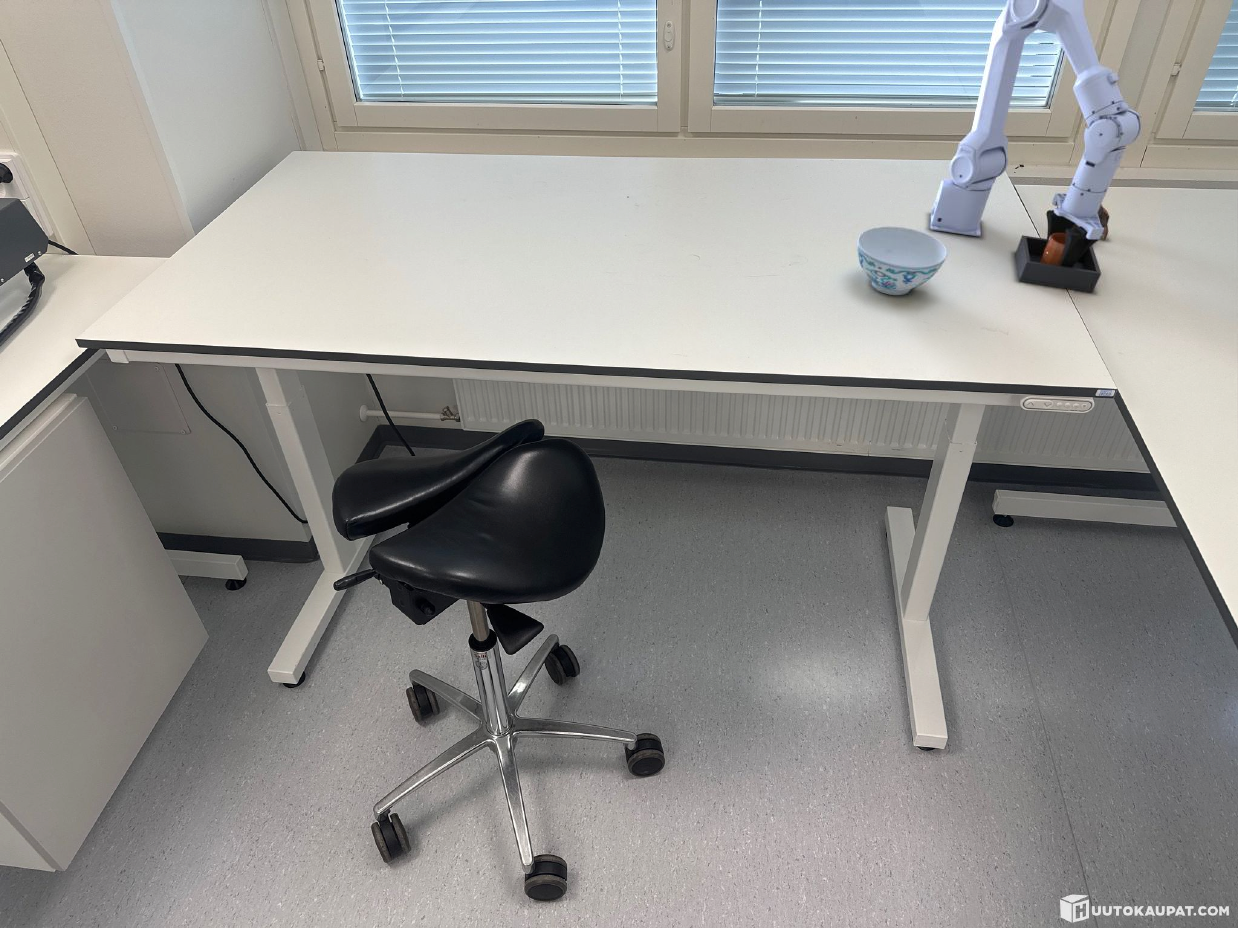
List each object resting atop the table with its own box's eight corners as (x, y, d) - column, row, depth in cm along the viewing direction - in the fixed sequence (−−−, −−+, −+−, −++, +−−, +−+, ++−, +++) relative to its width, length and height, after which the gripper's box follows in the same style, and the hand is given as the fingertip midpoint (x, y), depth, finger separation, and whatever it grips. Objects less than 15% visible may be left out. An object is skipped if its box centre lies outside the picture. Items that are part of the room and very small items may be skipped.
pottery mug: (1115, 249, 157) (1115, 218, 151) (1061, 263, 161) (1059, 233, 155) (1099, 209, 164) (1099, 177, 158) (1048, 223, 168) (1046, 193, 162)
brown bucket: (1046, 274, 145) (1058, 246, 142) (1034, 260, 149) (1045, 232, 146) (1076, 274, 145) (1088, 246, 142) (1062, 260, 150) (1074, 232, 146)
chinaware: (887, 315, 135) (899, 273, 130) (831, 275, 145) (840, 235, 140) (952, 296, 141) (966, 256, 135) (894, 259, 150) (905, 220, 145)
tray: (1019, 281, 145) (1026, 262, 143) (1015, 253, 154) (1022, 235, 151) (1092, 293, 143) (1101, 273, 140) (1084, 264, 151) (1092, 245, 149)
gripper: (1048, 169, 143) (1020, 240, 152) (1086, 203, 132) (1054, 277, 141) (1087, 169, 143) (1057, 240, 152) (1128, 204, 132) (1093, 278, 141)
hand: (1058, 258), depth 146 cm, fingers closed on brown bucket, 5 cm apart
